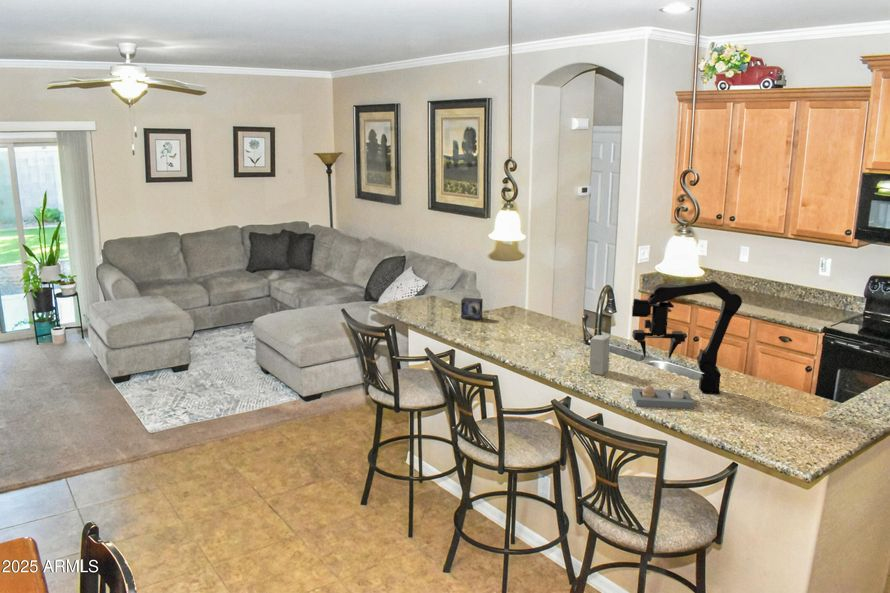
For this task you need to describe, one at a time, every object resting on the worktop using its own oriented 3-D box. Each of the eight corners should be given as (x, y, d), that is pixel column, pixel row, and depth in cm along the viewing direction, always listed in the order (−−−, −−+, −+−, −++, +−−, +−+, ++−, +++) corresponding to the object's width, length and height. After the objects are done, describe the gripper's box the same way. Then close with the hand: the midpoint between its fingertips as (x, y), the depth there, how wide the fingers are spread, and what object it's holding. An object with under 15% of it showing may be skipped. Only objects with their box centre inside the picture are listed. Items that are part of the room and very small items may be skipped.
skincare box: (602, 375, 285) (604, 340, 282) (588, 373, 288) (590, 338, 285) (608, 369, 292) (610, 335, 289) (594, 367, 295) (596, 333, 292)
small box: (460, 319, 375) (460, 299, 373) (463, 316, 381) (463, 297, 379) (479, 320, 372) (480, 301, 370) (482, 317, 378) (483, 298, 376)
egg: (680, 400, 258) (682, 385, 257) (684, 404, 254) (685, 389, 253) (668, 399, 258) (670, 384, 257) (671, 404, 254) (673, 388, 253)
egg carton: (686, 397, 261) (688, 382, 260) (693, 409, 250) (695, 393, 248) (631, 394, 264) (632, 379, 262) (636, 406, 252) (637, 391, 251)
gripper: (680, 313, 273) (677, 352, 276) (631, 312, 275) (629, 350, 278) (686, 320, 262) (683, 360, 265) (635, 319, 264) (633, 358, 268)
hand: (656, 357), depth 269 cm, fingers open, 9 cm apart
